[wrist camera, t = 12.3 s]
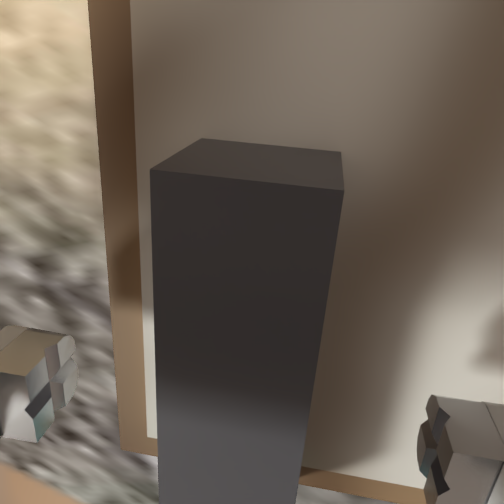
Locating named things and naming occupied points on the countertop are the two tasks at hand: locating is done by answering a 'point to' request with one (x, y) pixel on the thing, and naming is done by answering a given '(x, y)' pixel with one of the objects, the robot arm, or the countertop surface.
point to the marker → (239, 314)
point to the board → (353, 207)
